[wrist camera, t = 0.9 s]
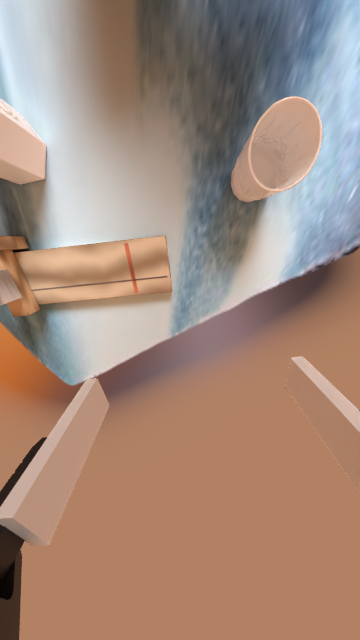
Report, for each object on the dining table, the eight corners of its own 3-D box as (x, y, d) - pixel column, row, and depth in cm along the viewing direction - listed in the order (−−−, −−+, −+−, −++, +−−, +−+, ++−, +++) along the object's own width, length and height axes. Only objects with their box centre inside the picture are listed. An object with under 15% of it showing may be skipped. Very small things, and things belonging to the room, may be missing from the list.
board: (-8, 255, 33) (-20, 256, 31) (165, 235, 32) (164, 235, 30) (17, 304, 37) (9, 307, 35) (172, 288, 36) (171, 291, 34)
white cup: (270, 205, 29) (310, 190, 20) (224, 207, 30) (244, 193, 21) (280, 144, 26) (333, 93, 17) (228, 147, 26) (253, 98, 17)
